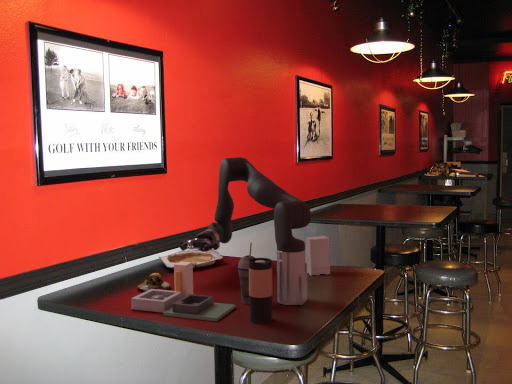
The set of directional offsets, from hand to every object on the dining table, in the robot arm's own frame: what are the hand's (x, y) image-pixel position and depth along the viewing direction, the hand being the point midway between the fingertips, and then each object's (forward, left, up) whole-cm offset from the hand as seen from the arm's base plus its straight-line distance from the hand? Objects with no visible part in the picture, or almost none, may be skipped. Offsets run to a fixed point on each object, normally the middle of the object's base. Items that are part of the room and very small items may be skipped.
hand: (193, 248), depth 192 cm
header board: (-14, +23, -15) cm, 31 cm away
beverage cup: (-25, +9, -15) cm, 30 cm away
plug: (-2, +11, -15) cm, 19 cm away
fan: (0, +19, -15) cm, 24 cm away
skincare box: (-37, -36, -15) cm, 53 cm away
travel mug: (-35, +25, -15) cm, 45 cm away
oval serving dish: (+20, -36, -15) cm, 44 cm away
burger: (+14, +4, -15) cm, 21 cm away
